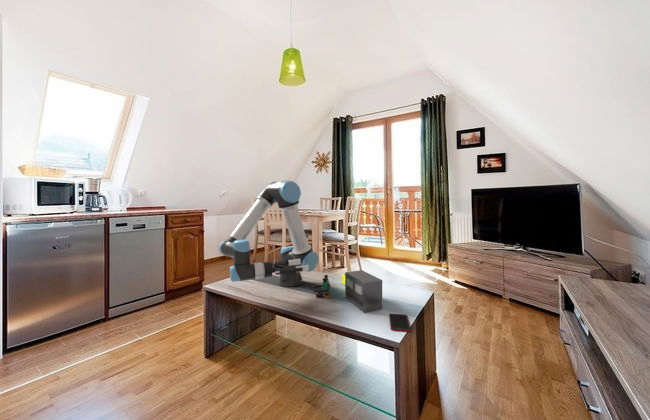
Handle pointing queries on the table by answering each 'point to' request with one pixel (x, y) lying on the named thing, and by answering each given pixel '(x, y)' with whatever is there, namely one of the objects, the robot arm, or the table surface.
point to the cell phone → (399, 323)
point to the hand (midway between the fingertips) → (304, 264)
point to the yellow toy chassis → (343, 278)
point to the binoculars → (323, 288)
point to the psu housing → (363, 290)
